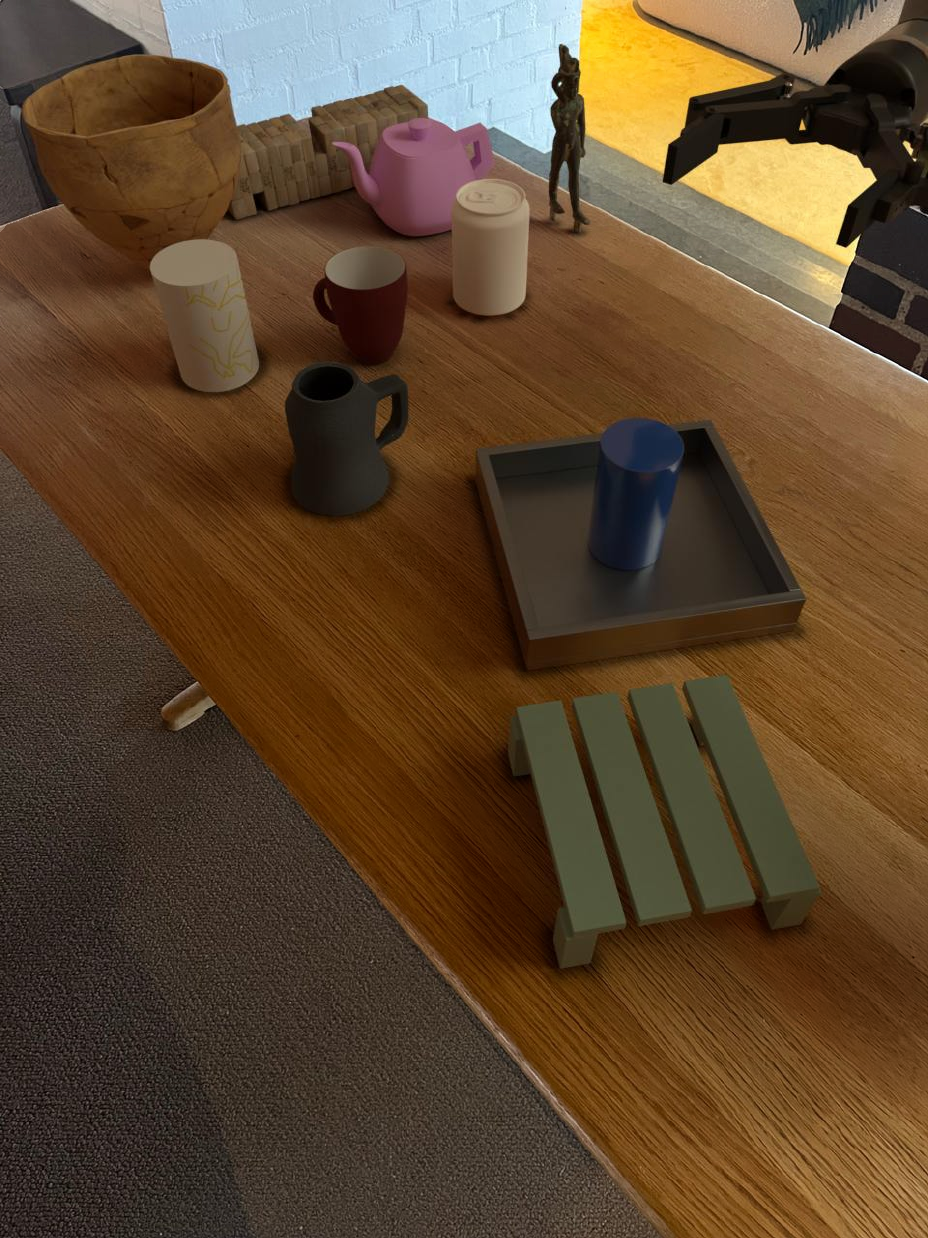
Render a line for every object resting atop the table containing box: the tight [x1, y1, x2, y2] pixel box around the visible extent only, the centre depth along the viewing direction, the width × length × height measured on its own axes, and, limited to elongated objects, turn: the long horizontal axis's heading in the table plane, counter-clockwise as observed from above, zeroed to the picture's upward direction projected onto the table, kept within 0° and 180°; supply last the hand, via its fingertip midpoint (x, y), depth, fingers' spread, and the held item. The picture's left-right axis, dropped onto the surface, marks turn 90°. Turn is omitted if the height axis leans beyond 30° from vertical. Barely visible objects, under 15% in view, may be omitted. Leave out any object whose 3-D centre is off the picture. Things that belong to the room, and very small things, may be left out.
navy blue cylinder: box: [587, 417, 684, 570], centre depth 78 cm, size 6×6×11 cm
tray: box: [475, 419, 807, 672], centre depth 81 cm, size 22×22×4 cm
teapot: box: [332, 118, 496, 237], centre depth 115 cm, size 13×20×11 cm
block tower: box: [226, 84, 429, 221], centre depth 122 cm, size 8×8×29 cm
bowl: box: [21, 54, 241, 271], centre depth 104 cm, size 21×20×20 cm
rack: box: [507, 674, 822, 970], centre depth 64 cm, size 16×16×6 cm
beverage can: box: [451, 178, 531, 317], centre depth 103 cm, size 8×8×12 cm
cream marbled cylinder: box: [149, 239, 260, 393], centre depth 95 cm, size 8×8×12 cm
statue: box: [548, 43, 591, 234], centre depth 109 cm, size 5×6×20 cm
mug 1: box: [312, 245, 409, 366], centre depth 98 cm, size 10×8×10 cm
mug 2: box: [284, 361, 410, 517], centre depth 85 cm, size 12×9×11 cm
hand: (754, 194), depth 66 cm, fingers open, 13 cm apart
